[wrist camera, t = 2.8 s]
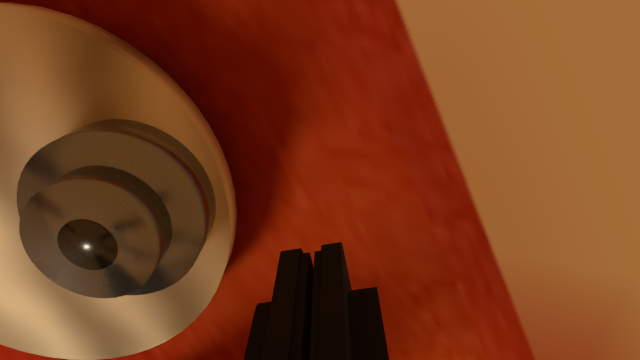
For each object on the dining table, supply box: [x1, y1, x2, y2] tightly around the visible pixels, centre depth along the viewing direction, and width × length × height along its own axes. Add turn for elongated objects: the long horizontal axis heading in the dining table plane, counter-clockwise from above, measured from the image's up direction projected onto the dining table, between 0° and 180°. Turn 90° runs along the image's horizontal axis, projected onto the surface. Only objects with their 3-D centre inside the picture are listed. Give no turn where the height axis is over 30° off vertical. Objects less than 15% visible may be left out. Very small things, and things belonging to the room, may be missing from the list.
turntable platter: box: [0, 2, 237, 360], centre depth 23 cm, size 22×22×2 cm
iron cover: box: [17, 119, 216, 298], centre depth 20 cm, size 9×9×5 cm
